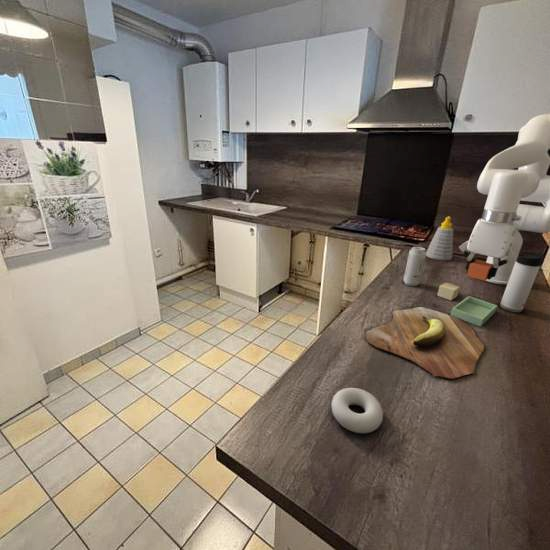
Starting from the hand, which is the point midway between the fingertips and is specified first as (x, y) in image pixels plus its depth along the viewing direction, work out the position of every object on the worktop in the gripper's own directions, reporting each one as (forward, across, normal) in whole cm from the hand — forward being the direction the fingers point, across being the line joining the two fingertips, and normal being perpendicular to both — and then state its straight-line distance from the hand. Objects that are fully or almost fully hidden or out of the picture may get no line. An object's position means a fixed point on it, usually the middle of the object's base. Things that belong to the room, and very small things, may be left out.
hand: (479, 274), depth 90 cm
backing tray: (+15, -1, -3) cm, 15 cm away
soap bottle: (+15, +32, -55) cm, 65 cm away
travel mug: (+15, -8, -18) cm, 25 cm away
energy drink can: (+15, +24, -10) cm, 30 cm away
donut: (+15, -1, +62) cm, 64 cm away
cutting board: (+15, +3, +22) cm, 27 cm away
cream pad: (+15, +10, -10) cm, 20 cm away
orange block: (0, 0, 0) cm, 0 cm away
